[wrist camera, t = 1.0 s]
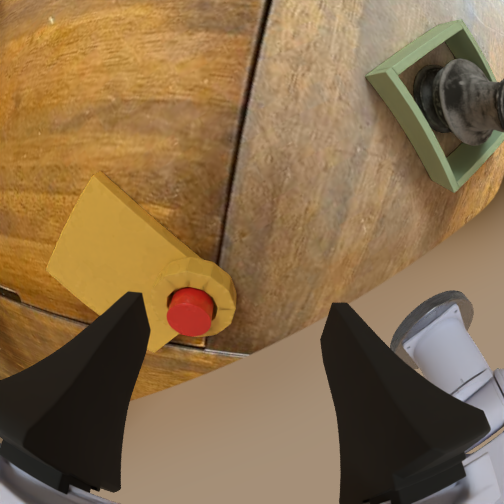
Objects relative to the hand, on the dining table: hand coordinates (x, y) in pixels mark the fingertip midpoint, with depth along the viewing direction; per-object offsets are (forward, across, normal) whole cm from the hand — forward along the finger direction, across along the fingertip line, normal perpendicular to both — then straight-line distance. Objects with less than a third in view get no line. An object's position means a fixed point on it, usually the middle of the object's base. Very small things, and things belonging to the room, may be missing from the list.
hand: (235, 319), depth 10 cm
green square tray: (+10, -14, -11) cm, 20 cm away
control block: (+10, +9, +5) cm, 14 cm away
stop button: (+7, +3, +5) cm, 9 cm away
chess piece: (+10, -14, -11) cm, 20 cm away
